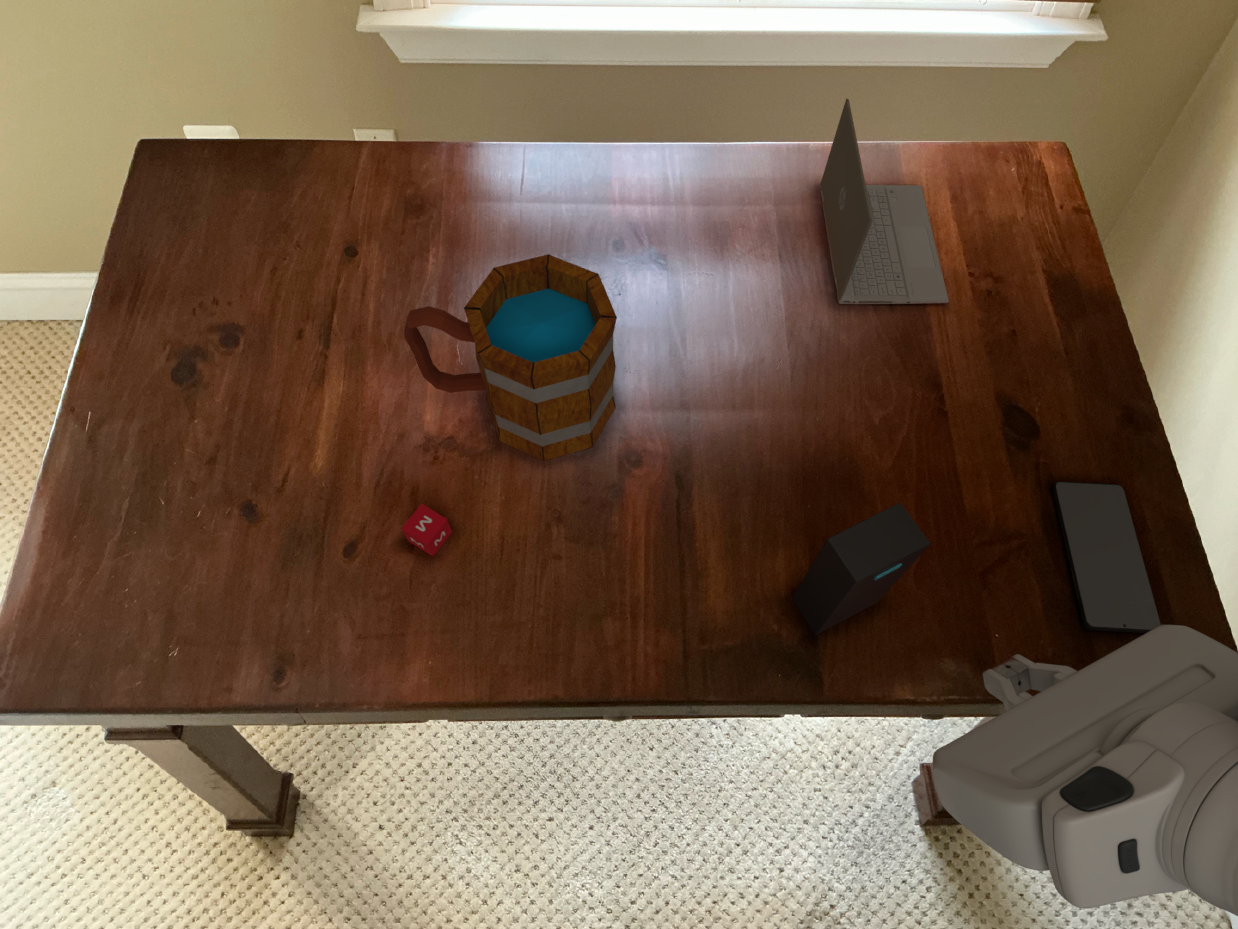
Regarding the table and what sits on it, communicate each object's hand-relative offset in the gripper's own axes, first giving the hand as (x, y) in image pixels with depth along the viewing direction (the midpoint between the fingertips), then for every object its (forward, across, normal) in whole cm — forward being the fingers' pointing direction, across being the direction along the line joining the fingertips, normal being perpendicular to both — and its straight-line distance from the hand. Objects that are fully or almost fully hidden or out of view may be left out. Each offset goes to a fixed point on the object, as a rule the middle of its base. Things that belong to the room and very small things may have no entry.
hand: (999, 671), depth 57 cm
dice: (+36, +32, -12) cm, 50 cm away
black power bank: (+20, +1, +3) cm, 20 cm away
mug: (+43, +18, -20) cm, 51 cm away
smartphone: (+15, -24, +8) cm, 30 cm away
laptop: (+44, -28, -21) cm, 57 cm away
